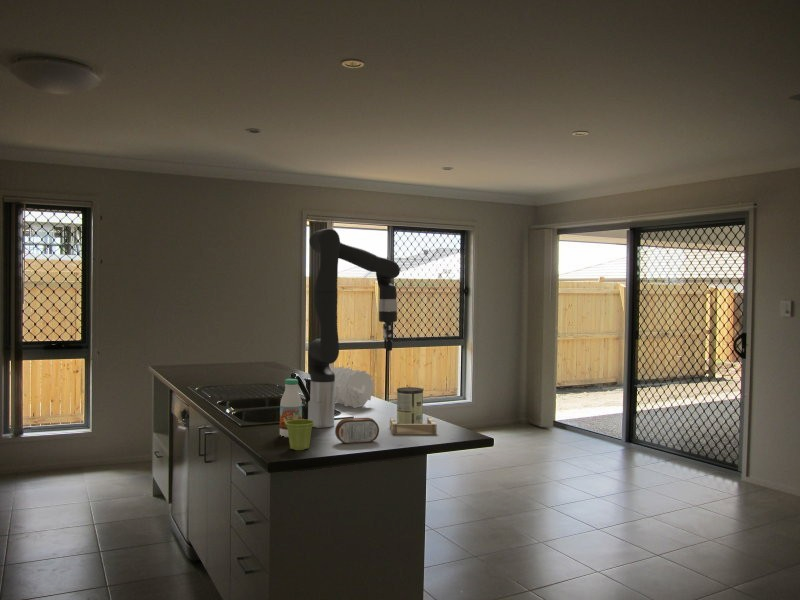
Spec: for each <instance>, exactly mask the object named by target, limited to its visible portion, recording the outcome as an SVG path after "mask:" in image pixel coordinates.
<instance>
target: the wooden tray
mask: <svg viewBox="0 0 800 600" xmlns="http://www.w3.org/2000/svg"><path fill="white" fill-rule="evenodd" d="M426 420H427V421H426V422H427V423H422V424H397V420H396V419H395V417H389V428H390V431H391V433H392V435H437V423H436V422H435V420H434V419H433V417H427V418H426Z"/></svg>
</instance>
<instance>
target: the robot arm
mask: <svg viewBox="0 0 800 600" xmlns="http://www.w3.org/2000/svg"><path fill="white" fill-rule="evenodd" d="M340 240H341V238H340V235H339V233H338V232H337V231H336V230H335V229H333V228H323V229H318V230H316V231H314V232H312V233H311V235H310V237H309V245H310V248H311V249H312V250H313V251H314V252H315V253H318V254H320V255H319V256H320V262H319V264H320V265H319V270H318V273H317V276H316V278H315V281H314V284H313V291H312V292H313V293H312V294H313V296H312V300H313V301H312V302H313V303H312V304H313V309H314V311H315V314H316V317H317V320H318V323H319V327H320V328H319V329H320V338H316V339H314V340H312V341H311V343H310V344H309V347H308V351H307V352H308V353H307V355H308V356H307V358H308V361H307V362H308V363H307V364H308V366H307V367H308V374H309V376H310V388H309V389H310V390H309V391H310V399H309V400H308V402H307V404H308V405H307V420H312V421H314V424H313V427H312V428H317V429H321V428H331V427H335V402H334V396H335V374H334V373H333V372H332V371H331V370H332V368H330V364H334V363H335V362H336V361H337V360H338V357H339V354H340V344H339V343H340V341H339V332H338V298H339V297H338V277H339V276H338V273H339V272H338V271H339V270H338V269H339V268H338V267H339V260H342V261H346V262H348V263H350V264H353V265H354V266H357V267H359V268H361V269H363V270H366V271H367V272H372V273H375V276H376V281H377V286H378V288H379V289H378V290H379V293H378V294H379V298H378V299H379V300H378V321H379V322H380V323H383V324H382V336H383V343H384V345H383V348H384V349H386V351H388V352H391V351H392V350H393V341H394V325H393V324H392V323H396V322H398V302H397V286H395V285H394V284H392V280H391V279H396V278H397V277H398V276H399V275H400V272H401V269H400V266H399V264H398V263H396V261H394V260H392V259H389V258H384V257H381V256H379V255H376V254H374V253H373V252H370V251H368V250H366V249H363V248H359V247H355V246H352V245H349V244H345V243H343V242H341V241H340Z"/></svg>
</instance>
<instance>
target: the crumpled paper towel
mask: <svg viewBox="0 0 800 600" xmlns="http://www.w3.org/2000/svg"><path fill="white" fill-rule="evenodd" d="M331 371H332V372H333V373H334V374H335V396H334V403H338V404H340V405H344V407H345V406H346V407H348V406H350V407H352V408H353V409H356V408H357V407H358V408H359V407H362V408H363V407H364V406H365V405H366V403H367V402H368V401H371V399H372V396H374V386H375V383H374V381H373V379H372V377H373V375H371V374H369V373H367V370H360V369H356V370H355V369H353V368H350V367H349V366H348V367H344V366H339V367H337V366H336V365H335V366H333V368H331Z"/></svg>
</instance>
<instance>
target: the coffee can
mask: <svg viewBox="0 0 800 600" xmlns="http://www.w3.org/2000/svg"><path fill="white" fill-rule="evenodd" d="M396 393H397V395H396V396H397V397H396V423H397V424H423V421H424V420H423V418H424V417H423V415H424V414H423V411H424V408H423V406H424V405H423V403H424V402H423V401H424V398H423V397H424V396H423V395H424V388H421V387H414V386H413V387H411V386H410V387H408V386H406V387H398V388H396Z"/></svg>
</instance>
